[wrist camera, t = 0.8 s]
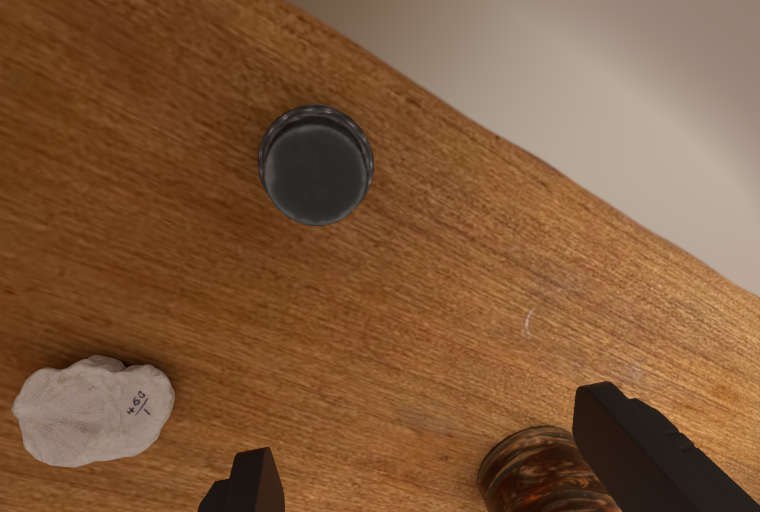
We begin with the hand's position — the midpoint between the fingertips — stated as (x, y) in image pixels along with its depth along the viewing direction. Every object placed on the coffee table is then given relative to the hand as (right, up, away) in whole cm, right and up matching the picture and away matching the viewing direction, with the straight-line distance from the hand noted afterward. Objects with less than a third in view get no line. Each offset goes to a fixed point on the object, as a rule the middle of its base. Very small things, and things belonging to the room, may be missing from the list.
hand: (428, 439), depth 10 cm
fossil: (-24, -6, +23) cm, 33 cm away
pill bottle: (-6, +12, +18) cm, 23 cm away
